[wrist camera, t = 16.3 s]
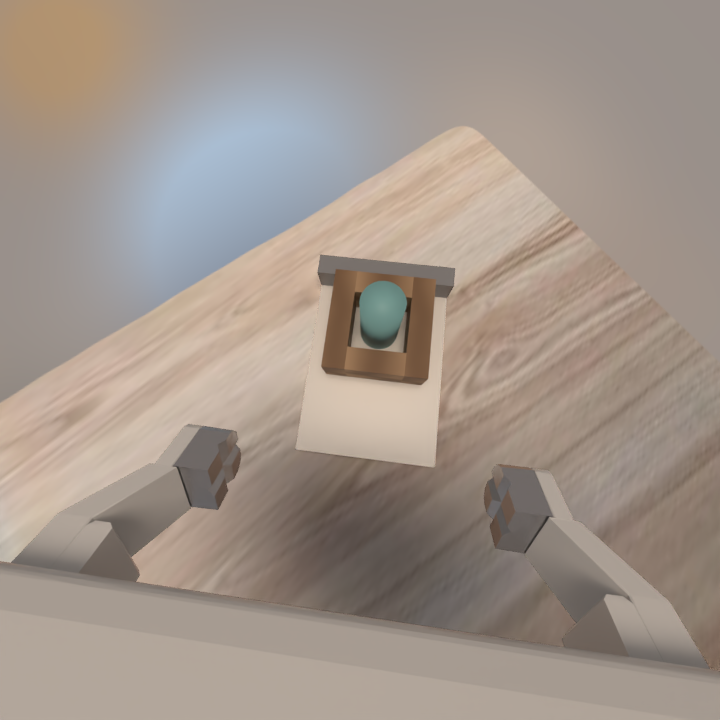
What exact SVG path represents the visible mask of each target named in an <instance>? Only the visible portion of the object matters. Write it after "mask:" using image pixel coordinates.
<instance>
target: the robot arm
mask: <svg viewBox="0 0 720 720" xmlns="http://www.w3.org/2000/svg"><path fill="white" fill-rule="evenodd" d="M237 440H238V436H237V432H236V431H233V430H226V429H220V428H213V427H207V426H199V425H192V424H188V425H186V426H184V427H183V428H182V430H181V431H180V432H179V434H178V435H177V436H176V437H175V439H174V440H173V441H172V442H171V444H170V445H169V446H168V447H167V449H166V450H165V451H164V452H163V454H162V455H161V456H160V458H159V459H158V460H157V461H156V463H155V464H148V465H146V466H144V467H142V468H140V469H139V470H137V471H135V472H133V473H131V474H129V475H128V476H126V477H124V478H122V479H120V480H118V481H116V482H115V483H113V484H111V485H109V486H107V487H105V488H104V489H102V490H100V491H98V492H96V493H94V494H93V495H91V496H89V497H87V498H85V499H83V500H81V501H80V502H78V503H76V504H74V505H72V506H70V507H69V508H67V509H65V510H63V511H61V512H59V513H58V514H57V515H56V516H55V517H54V518H53V519H52V520H51V521H50V522H49V523H48V524H47V525H46V526H45V527H44V528H43V530H42V531H41V532H40V533H39V534H38V535H37V536H36V537H35V538H34V539H33V540H32V541H31V542H30V543H29V544H28V545H27V546H26V547H25V548H24V550H23V551H22V552H21V553H20V554H19V555H18V556H17V557H16V558H15V559H14V560H13V561H12V562H11V563H9V562H2V561H0V720H720V671H718V670H712V669H710V668H709V667H708V665H707V663H706V662H705V660H704V658H703V657H702V655H701V653H700V652H699V650H698V648H697V647H696V645H695V643H694V642H693V640H692V638H691V637H690V635H689V633H688V631H687V630H686V628H685V626H684V625H683V623H682V621H681V620H680V618H679V616H678V615H677V613H676V611H675V610H674V608H673V606H672V605H671V603H670V602H669V601H668V600H667V599H666V598H665V597H664V596H663V595H661V594H660V593H659V592H658V591H657V590H656V589H655V588H654V587H653V586H651V585H650V584H649V583H648V582H647V581H646V580H645V579H644V578H642V577H641V576H640V575H639V574H638V573H637V572H636V571H635V570H634V569H632V568H631V567H630V566H629V565H628V564H627V563H626V562H625V561H623V560H622V559H621V558H620V557H619V556H618V555H617V554H616V553H615V552H613V551H612V550H611V549H610V548H609V547H608V546H607V545H606V544H604V543H603V542H602V541H601V540H600V539H599V538H598V537H597V536H596V535H594V534H593V533H592V532H591V531H590V530H589V529H588V528H587V527H585V526H584V525H583V524H582V523H581V522H580V521H575V520H574V519H573V517H572V515H571V513H570V511H569V508H568V506H567V504H566V502H565V500H564V498H563V496H562V494H561V492H560V490H559V488H558V486H557V484H556V481H555V479H554V477H553V475H552V473H551V472H550V471H549V470H543V469H535V468H528V467H520V466H511V465H502V464H496V465H495V466H494V468H493V470H492V475H493V478H492V479H491V480H489V481H487V484H486V487H485V492H484V503H485V508H486V512H487V514H488V515H489V516H490V517H491V518H492V519H493V521H492V523H491V525H490V529H491V533H492V537H493V542H494V546H495V549H501V550H507V551H513V552H519V553H525V556H526V558H527V559H528V560H529V561H530V563H531V564H532V565H533V567H534V568H535V569H536V571H537V572H538V573H539V575H540V576H541V577H542V579H543V580H544V581H545V583H546V584H547V585H548V587H549V588H550V589H551V590H552V592H553V593H554V594H555V596H556V597H557V598H558V600H559V601H560V602H561V604H562V605H563V606H564V608H565V609H566V610H567V612H568V613H569V614H570V616H571V617H572V618H573V619H574V621H575V622H576V624H575V625H574V626H573V627H572V628H571V629H570V630H569V631H568V632H567V633H566V634H565V635H564V637H563V638H562V640H563V643H564V646H565V647H560V646H554V645H547V644H541V643H534V642H528V641H521V640H514V639H508V638H501V637H495V636H488V635H482V634H475V633H469V632H462V631H456V630H449V629H442V628H436V627H429V626H423V625H416V624H410V623H403V622H397V621H390V620H383V619H377V618H370V617H364V616H357V615H351V614H344V613H338V612H331V611H324V610H318V609H311V608H305V607H298V606H292V605H285V604H279V603H272V602H265V601H259V600H252V599H246V598H239V597H232V596H226V595H219V594H213V593H206V592H200V591H193V590H186V589H180V588H173V587H167V586H160V585H154V584H147V583H140V582H136V581H137V579H138V577H139V576H140V574H139V570H138V568H137V566H136V564H135V563H134V561H133V559H132V558H131V557H132V556H133V555H134V554H136V553H137V552H138V551H139V550H141V549H142V548H143V547H144V546H145V545H147V544H148V543H149V542H150V541H152V540H153V539H154V538H155V537H156V536H158V535H159V534H160V533H161V532H163V531H164V530H165V529H166V528H167V527H169V526H170V525H171V524H172V523H174V522H175V521H176V520H177V519H178V518H180V517H181V516H182V515H183V514H185V513H186V512H187V511H188V510H189V509H191V507H198V508H207V509H216V510H218V509H219V507H220V505H221V503H222V501H223V500H224V498H225V496H226V494H227V492H228V488H227V483H228V482H230V481H231V480H233V479H234V478H235V476H236V474H237V472H238V469H239V465H240V461H241V452H240V448H239V447H238V446H237V445H236V442H237Z"/></svg>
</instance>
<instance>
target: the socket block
mask: <svg viewBox="0 0 720 720" xmlns="http://www.w3.org/2000/svg"><path fill="white" fill-rule="evenodd" d="M377 281H389V282H392V283H394V284H396V285H397V286H399V287H400V288H401V289H402V291H403V292H404V294H405V296H406V300H407V306H406V310H405V312H407V318H406V328H405V339H404V349H403V353H400V352H392V351H383V350H374V349H365V348H356V347H351V342H352V335H353V327H354V320H355V312H356V307H360V304H359V303H360V296H361V294H362V292H363V290H364V289H365V288H366V287H367V286H368V285H370V284H372V283H374V282H377ZM435 288H436V279H428V278H419V277H409V276H399V275H389V274H379V273H370V272H360V271H350V270H340V269H336V271H335V277H334V284H333V291H332V297H331V304H330V310H329V317H328V324H327V330H326V337H325V343H324V350H323V357H322V363H321V367H322V369H323V370H324V371H325V373H326V374H331V375H339V376H348V377H356V378H365V379H373V380H382V381H390V382H399V383H407V384H415V385H422V384H423V383H424V382H425V381H427V380H428V375H429V363H430V350H431V338H432V325H433V313H434V300H435Z"/></svg>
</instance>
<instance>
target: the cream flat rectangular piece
mask: <svg viewBox="0 0 720 720" xmlns="http://www.w3.org/2000/svg"><path fill="white" fill-rule="evenodd" d="M336 269H340V270H350V271H360V272H370V273H379V274H389V275H399V276H409V277H419V278H428V279H436V288H435V300H434V313H433V325H432V338H431V350H430V363H429V375H428V380H427V381H425V382H424V383H423V384H422V385H415V384H407V383H399V382H390V381H382V380H373V379H365V378H356V377H348V376H339V375H331V374H326V373H325V371H324V370H323V369H322V367H321V363H322V357H323V350H324V343H325V337H326V330H327V324H328V317H329V310H330V304H331V297H332V291H333V284H334V277H335V271H336ZM318 275H319V278H320V281H321V285H322V286H321V292H320V298H319V304H318V311H317V317H316V323H315V329H314V336H313V342H312V348H311V354H310V361H309V367H308V373H307V380H306V386H305V392H304V398H303V405H302V411H301V417H300V423H299V430H298V436H297V442H296V448H295V450H303V451H311V452H318V453H326V454H334V455H341V456H349V457H357V458H365V459H372V460H380V461H388V462H395V463H403V464H411V465H418V466H426V467H434V468H435V457H436V443H437V429H438V415H439V401H440V387H441V373H442V359H443V345H444V331H445V317H446V303H447V297H448V295H449V294H450V292H451V290H452V288H453V287H454V275H455V268H447V267H437V266H427V265H417V264H407V263H397V262H387V261H377V260H367V259H357V258H347V257H337V256H327V255H320V261H319V267H318ZM406 318H407V312H405V313H404V316H403V319H402V322H401V325H400V328H399V331H398V334H397V337H396V340H395V341H394V343H393V344H392V345H391V346H389V347H387V348H385V349H374V348H371V347H369V346H368V345H366V344H365V343H364V341H363V339H362V337H361V332H360V307H356V312H355V320H354V327H353V335H352V342H351V347H356V348H365V349H374V350H383V351H392V352H400V353H403V349H404V339H405V328H406Z"/></svg>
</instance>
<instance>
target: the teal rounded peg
mask: <svg viewBox="0 0 720 720" xmlns="http://www.w3.org/2000/svg"><path fill="white" fill-rule="evenodd" d="M359 304H360V332H361V337H362V339H363V341H364V343H365V344H366V345H368V346H369V347H371V348H374V349H385V348H387V347H389V346H391V345H392V344H393V343H394V341H395V340H396V337H397V334H398V331H399V328H400V325H401V322H402V319H403V316H404V313H405V310H406V306H407V300H406V296H405V294H404V292H403V291H402V289H401V288H400V287H399V286H397V285H396V284H394V283H392V282H389V281H377V282H374V283H372V284H370V285H368V286H367V287H366V288H365V289H364V290H363V292H362V294H361V296H360V303H359Z"/></svg>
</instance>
